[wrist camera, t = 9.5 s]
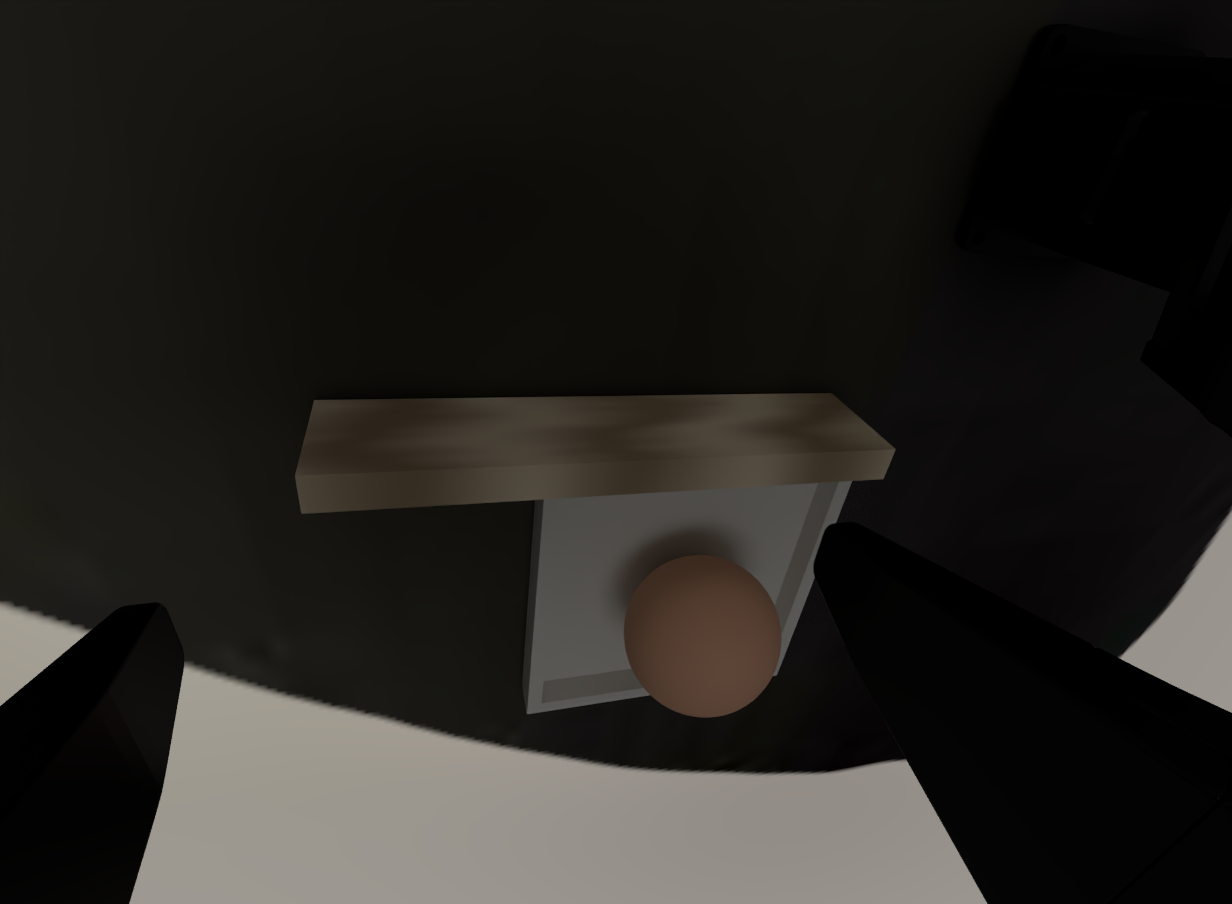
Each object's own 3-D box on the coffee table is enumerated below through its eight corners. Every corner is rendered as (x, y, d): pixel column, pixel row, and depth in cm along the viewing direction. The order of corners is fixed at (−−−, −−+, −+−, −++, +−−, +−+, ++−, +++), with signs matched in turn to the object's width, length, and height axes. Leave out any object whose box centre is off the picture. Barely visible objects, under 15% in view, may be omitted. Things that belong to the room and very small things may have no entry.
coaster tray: (836, 447, 26) (857, 468, 25) (763, 651, 32) (776, 675, 31) (538, 459, 22) (544, 485, 21) (522, 685, 29) (527, 714, 28)
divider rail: (831, 392, 24) (895, 449, 21) (822, 420, 25) (883, 479, 22) (313, 399, 19) (294, 476, 16) (319, 434, 20) (301, 513, 17)
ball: (753, 517, 26) (833, 627, 22) (722, 619, 30) (786, 735, 25) (614, 530, 25) (669, 653, 20) (598, 637, 28) (641, 766, 23)
